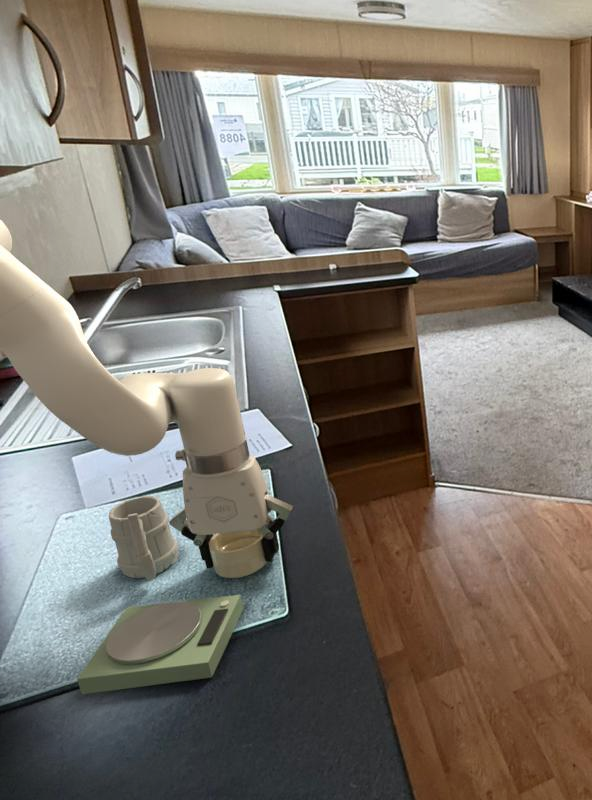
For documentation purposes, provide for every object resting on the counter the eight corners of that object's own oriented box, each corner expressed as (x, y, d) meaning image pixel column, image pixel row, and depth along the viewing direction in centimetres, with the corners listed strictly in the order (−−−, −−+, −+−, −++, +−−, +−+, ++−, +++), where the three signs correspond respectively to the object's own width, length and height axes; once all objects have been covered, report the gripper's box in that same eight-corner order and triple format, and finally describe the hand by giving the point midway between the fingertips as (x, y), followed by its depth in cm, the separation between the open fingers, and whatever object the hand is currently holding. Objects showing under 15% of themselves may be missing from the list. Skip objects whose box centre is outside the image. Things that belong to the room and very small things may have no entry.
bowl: (208, 583, 94) (200, 555, 92) (225, 552, 100) (219, 525, 99) (263, 577, 95) (256, 549, 93) (276, 547, 102) (271, 520, 100)
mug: (178, 541, 103) (160, 475, 99) (185, 582, 94) (165, 511, 90) (120, 558, 99) (98, 490, 94) (121, 603, 90) (97, 530, 85)
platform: (89, 669, 76) (88, 665, 76) (131, 610, 85) (129, 606, 85) (183, 658, 77) (182, 654, 77) (213, 600, 87) (212, 597, 86)
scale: (81, 694, 76) (75, 677, 75) (131, 621, 87) (126, 605, 86) (212, 677, 78) (207, 660, 77) (244, 608, 89) (240, 592, 88)
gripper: (137, 474, 86) (168, 582, 92) (277, 463, 89) (298, 568, 95) (162, 448, 93) (189, 550, 99) (291, 438, 96) (309, 538, 102)
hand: (242, 558), depth 97 cm, fingers closed on bowl, 7 cm apart
